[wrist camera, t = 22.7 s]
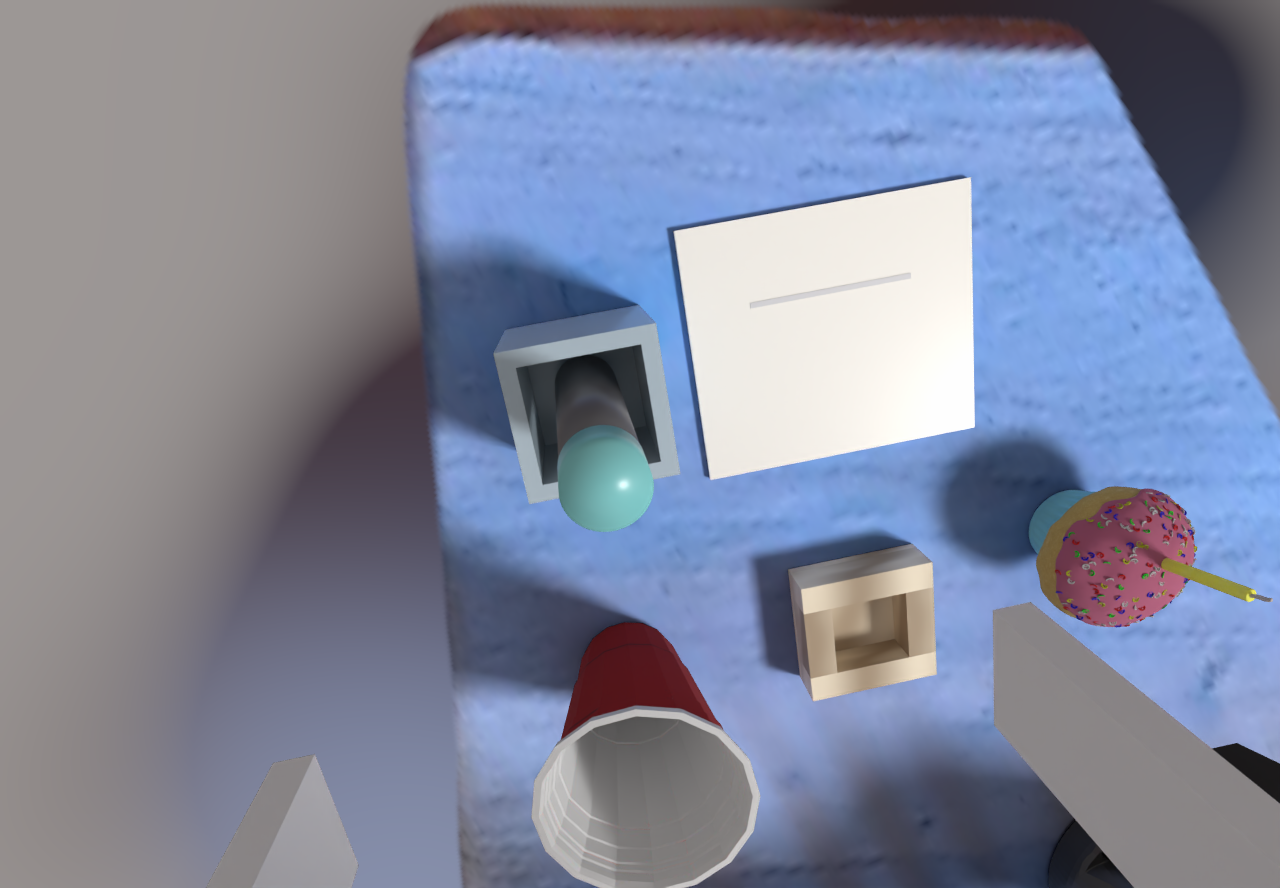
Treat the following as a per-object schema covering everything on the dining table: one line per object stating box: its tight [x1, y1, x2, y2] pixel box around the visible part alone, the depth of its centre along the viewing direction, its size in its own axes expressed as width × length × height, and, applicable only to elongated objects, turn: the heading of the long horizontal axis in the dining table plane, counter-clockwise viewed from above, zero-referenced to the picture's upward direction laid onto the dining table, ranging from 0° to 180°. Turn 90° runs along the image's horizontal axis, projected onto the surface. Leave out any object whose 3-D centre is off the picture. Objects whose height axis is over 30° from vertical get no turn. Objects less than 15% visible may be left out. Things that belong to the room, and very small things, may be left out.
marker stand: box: [788, 544, 937, 701], centre depth 43 cm, size 8×8×2 cm
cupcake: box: [1029, 487, 1273, 627], centre depth 39 cm, size 9×8×12 cm
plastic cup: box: [531, 622, 760, 888], centre depth 38 cm, size 11×11×12 cm
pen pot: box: [493, 305, 680, 504], centre depth 35 cm, size 7×7×7 cm
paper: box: [673, 177, 975, 480], centre depth 39 cm, size 16×14×1 cm
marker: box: [555, 355, 654, 532], centre depth 31 cm, size 3×3×14 cm
